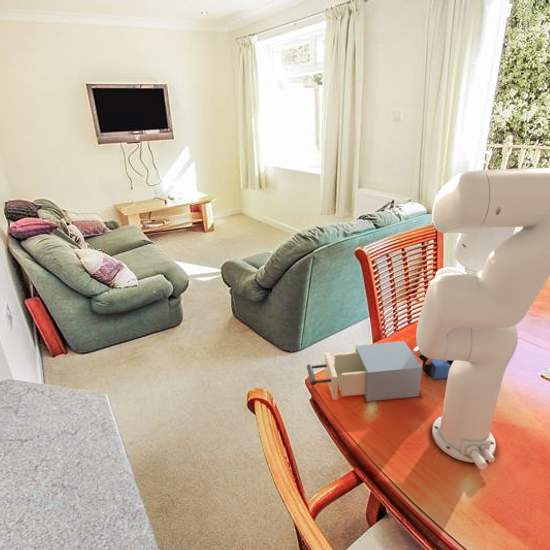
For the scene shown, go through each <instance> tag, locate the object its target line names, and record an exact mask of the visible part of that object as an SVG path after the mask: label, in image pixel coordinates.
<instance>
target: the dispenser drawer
mask: <svg viewBox="0 0 550 550" xmlns="http://www.w3.org/2000/svg"><path fill="white" fill-rule="evenodd" d="M333 360H334V361H333ZM333 360H332V357H331V354H330V351H329V352H324V364H314V365H312V364H310V363H308V364H307V365H306V370H307V374H308V378H309V382H310V383H309V384H310V385H311V386H316V384H324V383H325V384H326V383H327V386H328V388H329V392H330V395H331V399H332V401H337V400H338V389H339V392H340V395H341V397H350V396H359V395H364V394H366V388H367V372H366V369H365V367H364V365H363V363H362V361H361V359H360V356H359V354H358V352H355V351H350V352H349V351H348V352H340V353H338V352H337V353H334V359H333ZM333 362H334V363H333ZM322 368H324V375H325V379H324V378H322V379H316V377H315V372H314V369H322Z"/></svg>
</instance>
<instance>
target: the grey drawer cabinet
mask: <svg viewBox="0 0 550 550" xmlns="http://www.w3.org/2000/svg"><path fill="white" fill-rule="evenodd" d="M354 352H358V354H359V356H360V359H361V361H362V363H363V365H364V367H365V369H366V372H367V388H366V394H363V395H364V398H365V400H366V402H372V401H382V400H383V401H385V400H393V399H403V398H405V399H406V398H412V397H413V398H414V397H420V391H421V382H422V375H423V374H422V373H423V370H422V364H421V363H420V362H419V360H418V359H417V356H416V355H415V354H414V353H413V351H412V350H411V348H410V347H409V346H408V345H407V343H406V342H405V341H404V340H402V341H401V340H399V341H389V342H380V343H371V344H370V343H368V344H359V345H355V351H354Z"/></svg>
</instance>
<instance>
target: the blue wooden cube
mask: <svg viewBox="0 0 550 550" xmlns="http://www.w3.org/2000/svg"><path fill="white" fill-rule="evenodd" d="M430 363H431V365H432V368H431V375H430V376H431V377H432V378H433V379H435V380H436V379H448V373H449V369H450V364H449V363H448V362H447V360H436V359H432V361H431V362H430Z"/></svg>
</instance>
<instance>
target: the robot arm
mask: <svg viewBox="0 0 550 550" xmlns="http://www.w3.org/2000/svg"><path fill="white" fill-rule="evenodd" d="M431 214H432V215H431V216H432V218H431V220H432V225H433V227H434V229H435V230H436V231H437V232H438V233H441V234H459V235H458V238H457V241H456V243H455V246H454V251H453V252H454V257H455V259H456V261H457V263H459V264H460V266H462V268H465V269H466V270H469V271H471V272H473V273H471V272H470V273H469V272H468V273H467V272H466V271H464V270H462V269H459V268H455V267H444V268H441V269H438V270H437V271H436V272H435V275H434V278H433V279H432V280H431V281H430V283H429V285H428V286H427V289H426V291H425V296H424V299H423V303H422V306H421V310H420V314H419V317H418V321H417V325H416V329H415V330H416V331H415V342H416V347H414V348H413V349H412V353H413V355H414V356H415V357H416V358H419V360H420V361H421V362H422V364H421V366H422V373H424V374H425V376H426V377H427V378H428V377H431V376H432V375H431V368H432V365H431V363H430V362H431V361H432V359H436V360H446V361H447V362H448V363H449V364H450V369H449V373H448V378H446V379H447V381H446V385H445V392H444V399H443V406H442V412H441V416H439V417H437V418H436V419H435V420H434V421H433V424H432V426H431V434H432V435H431V436H432V438H433V440H434V442H435V444H436V445H437V446H438V447H439V449H441V450H442V451H443V452H444V453H445V454H447V455H448V456H451V457H452V458H454V459H456V460H459V461H463V462H465V463H474V464H475V466H476V467H477V468H478V470H480V471H483V470H486V469H487V468H488V466H489V464H488V463H494V462H495V460H496V458H495V457H494V454H495V452H496V447H497V444H496V439H495V437H494V435H493V433H492V432H491V430H492V425H493V422H494V417H495V413H496V409H497V404H498V400H499V396H500V391H501V387H502V383H503V381H504V380H503V379H504V376H505V373H506V370H507V367H508V366H509V363H510V361H511V359H513V356H514V354H515V352H516V350H517V346H518V342H519V332H518V329H517V325H518V324H519V323H520V322H521V321H522V320H523V319H524V317H525V316H526V315H527V313H528V312H529V310H531V307H532V306H533V304H534V302H535V300H536V299H537V297H538V296H539V294H540V292H541V291H542V289H543V288H544V285H545V284H546V282H547V280H548V279H549V277H550V167H523V168H521V167H520V168H504V169H503V168H501V169H500V168H499V169H474V170H467V171H463V172H461V173H458V174H457V175H455V176H454V177H453V178H452V179H451V180H450V181H448V182H447V183H446V184H445V185H443V187H442V188H441V189H440V191H439V192H438V194H437V195H436V197H435V200H434V203H433V206H432V212H431ZM517 228H521V229H520V230H519V231H517V232H516V230H517ZM487 461H488V462H487Z"/></svg>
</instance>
